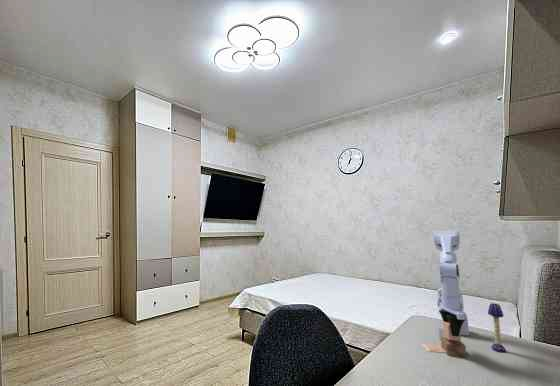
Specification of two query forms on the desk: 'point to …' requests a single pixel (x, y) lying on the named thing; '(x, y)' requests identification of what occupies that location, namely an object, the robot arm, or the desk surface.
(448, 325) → the terracotta block
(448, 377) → the desk surface
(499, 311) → the toy lamp
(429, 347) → the terracotta swatch tile
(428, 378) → the desk surface
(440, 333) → the slate grey block
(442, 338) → the walnut base block
